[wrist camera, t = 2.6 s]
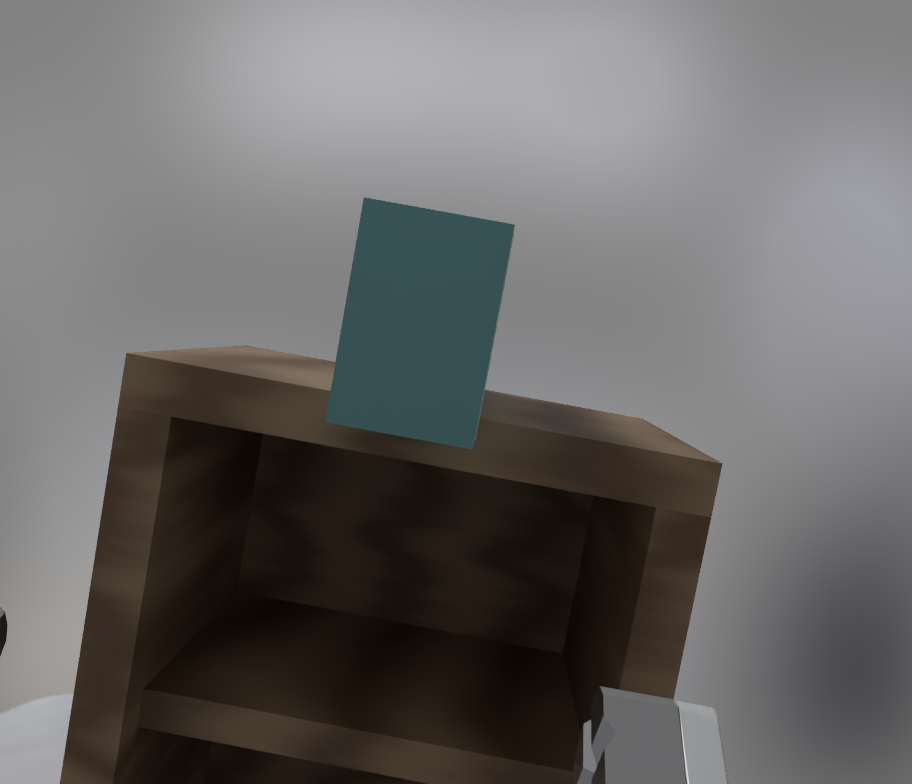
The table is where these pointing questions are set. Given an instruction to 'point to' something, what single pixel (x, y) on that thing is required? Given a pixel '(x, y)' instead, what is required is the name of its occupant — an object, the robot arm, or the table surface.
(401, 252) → the teal rectangular bar
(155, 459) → the brown wooden box
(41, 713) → the table surface
